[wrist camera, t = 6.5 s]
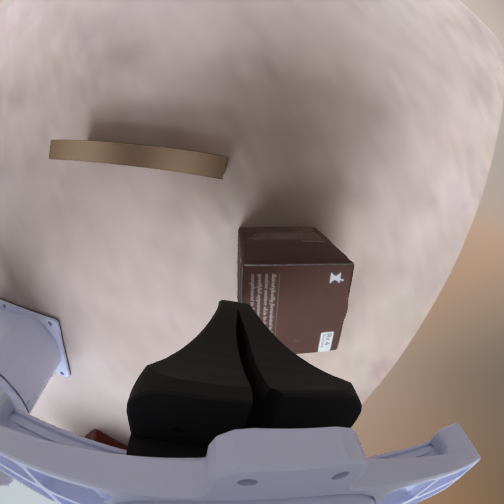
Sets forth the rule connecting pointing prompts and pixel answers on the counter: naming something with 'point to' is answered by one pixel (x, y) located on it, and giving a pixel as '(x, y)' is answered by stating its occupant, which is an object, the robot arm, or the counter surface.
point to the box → (295, 285)
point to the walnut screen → (140, 156)
